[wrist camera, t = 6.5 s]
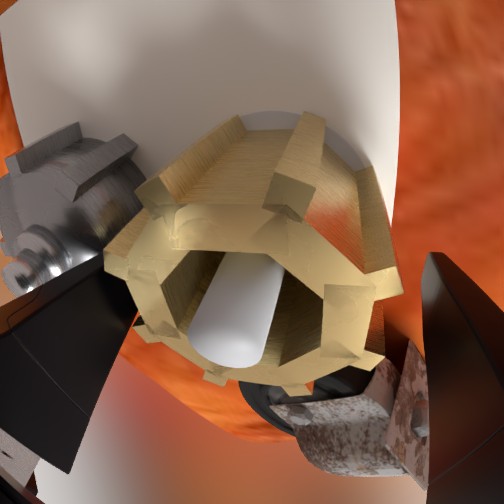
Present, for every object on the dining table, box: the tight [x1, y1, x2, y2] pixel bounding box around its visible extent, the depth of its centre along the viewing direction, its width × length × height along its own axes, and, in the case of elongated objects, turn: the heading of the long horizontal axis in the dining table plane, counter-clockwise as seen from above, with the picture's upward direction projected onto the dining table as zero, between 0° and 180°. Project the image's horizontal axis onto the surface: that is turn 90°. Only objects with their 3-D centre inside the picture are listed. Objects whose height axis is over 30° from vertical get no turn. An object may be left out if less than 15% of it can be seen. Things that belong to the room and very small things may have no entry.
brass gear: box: [103, 111, 404, 397], centre depth 9 cm, size 7×7×5 cm
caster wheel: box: [239, 339, 429, 491], centre depth 16 cm, size 7×11×10 cm
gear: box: [0, 122, 147, 298], centre depth 11 cm, size 8×8×6 cm
